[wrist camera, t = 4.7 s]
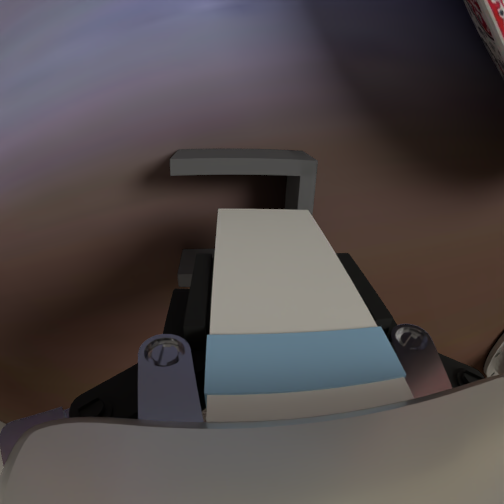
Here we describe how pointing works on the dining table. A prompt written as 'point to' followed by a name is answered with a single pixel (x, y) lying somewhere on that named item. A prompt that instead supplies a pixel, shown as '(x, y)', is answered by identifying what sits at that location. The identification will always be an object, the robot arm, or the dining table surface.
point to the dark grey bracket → (246, 163)
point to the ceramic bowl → (490, 27)
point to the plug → (290, 326)
